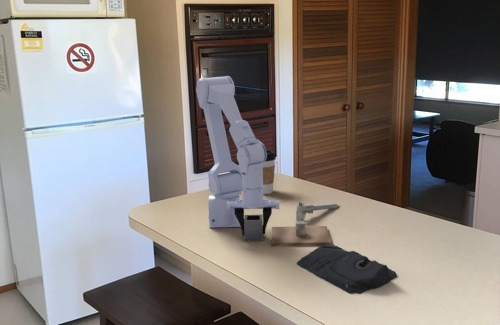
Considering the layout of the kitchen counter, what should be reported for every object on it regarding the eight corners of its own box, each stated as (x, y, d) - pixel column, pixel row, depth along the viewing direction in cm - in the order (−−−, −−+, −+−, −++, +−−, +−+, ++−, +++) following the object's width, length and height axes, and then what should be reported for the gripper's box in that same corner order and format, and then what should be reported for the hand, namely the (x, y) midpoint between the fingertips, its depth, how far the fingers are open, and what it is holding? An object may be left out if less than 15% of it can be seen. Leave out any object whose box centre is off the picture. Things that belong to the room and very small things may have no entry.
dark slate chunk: (336, 249, 140) (336, 232, 138) (402, 279, 122) (403, 260, 121) (291, 265, 131) (291, 247, 130) (356, 299, 114) (356, 279, 112)
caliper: (298, 223, 158) (298, 203, 157) (296, 222, 159) (296, 203, 158) (339, 206, 172) (339, 188, 170) (336, 206, 173) (336, 188, 171)
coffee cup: (251, 195, 186) (250, 154, 182) (255, 188, 194) (253, 148, 190) (274, 195, 184) (274, 154, 181) (277, 188, 193) (277, 148, 189)
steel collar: (244, 241, 145) (244, 221, 144) (245, 234, 150) (244, 214, 149) (262, 241, 145) (262, 220, 144) (262, 234, 150) (262, 214, 149)
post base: (272, 248, 142) (271, 230, 141) (271, 231, 153) (271, 215, 152) (331, 247, 141) (331, 230, 140) (326, 230, 153) (326, 214, 152)
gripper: (225, 191, 140) (227, 239, 144) (279, 190, 140) (280, 238, 143) (226, 184, 147) (228, 229, 151) (278, 183, 147) (279, 228, 150)
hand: (253, 233), depth 147 cm, fingers closed on steel collar, 5 cm apart
